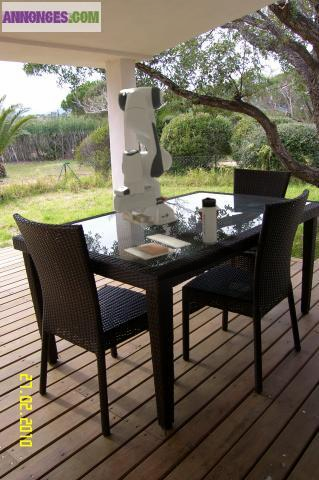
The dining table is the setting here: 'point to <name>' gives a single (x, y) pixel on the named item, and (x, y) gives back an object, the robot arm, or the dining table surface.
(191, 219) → the dining table surface
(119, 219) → the dining table surface
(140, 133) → the robot arm
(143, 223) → the beige rectangular bar
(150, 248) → the tile
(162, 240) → the board
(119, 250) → the dining table surface
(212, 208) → the travel mug
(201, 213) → the plastic cup
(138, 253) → the mat
